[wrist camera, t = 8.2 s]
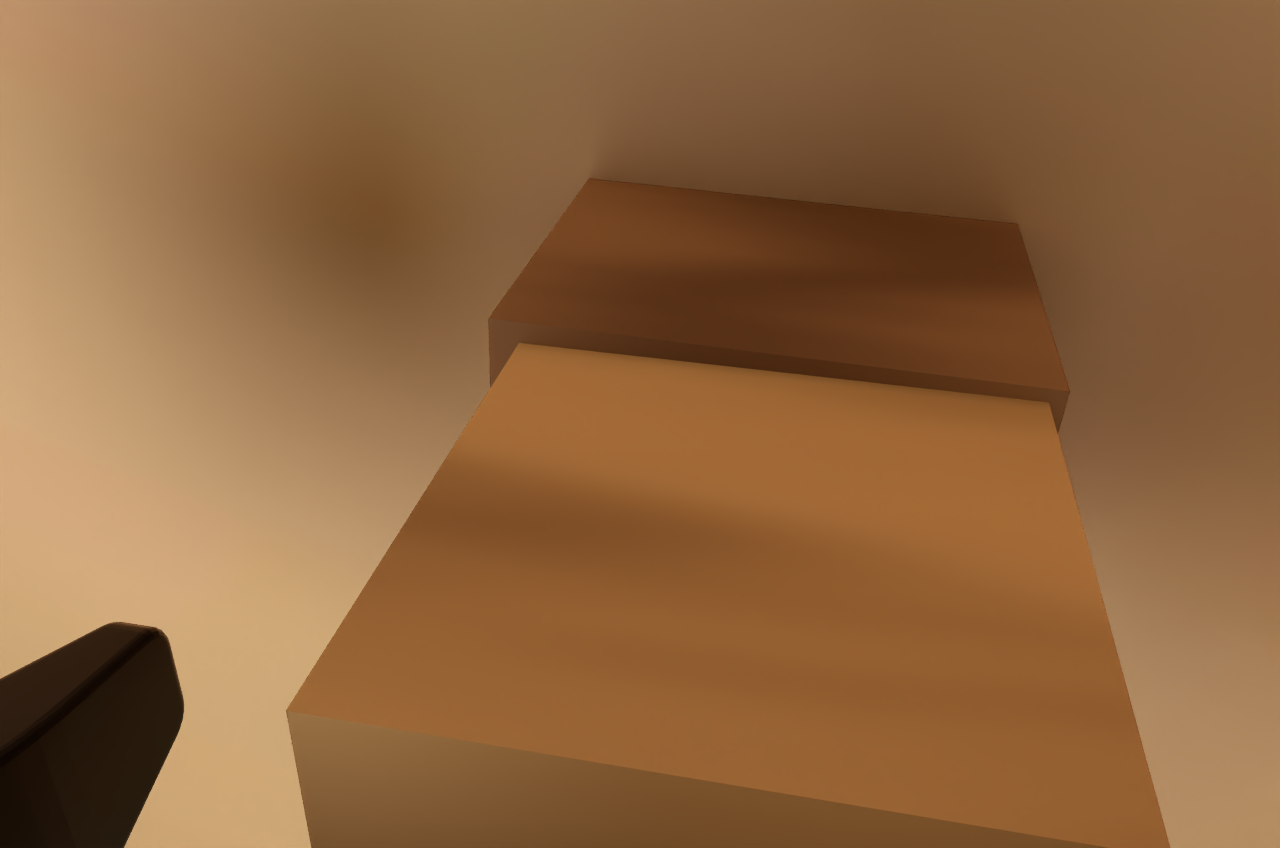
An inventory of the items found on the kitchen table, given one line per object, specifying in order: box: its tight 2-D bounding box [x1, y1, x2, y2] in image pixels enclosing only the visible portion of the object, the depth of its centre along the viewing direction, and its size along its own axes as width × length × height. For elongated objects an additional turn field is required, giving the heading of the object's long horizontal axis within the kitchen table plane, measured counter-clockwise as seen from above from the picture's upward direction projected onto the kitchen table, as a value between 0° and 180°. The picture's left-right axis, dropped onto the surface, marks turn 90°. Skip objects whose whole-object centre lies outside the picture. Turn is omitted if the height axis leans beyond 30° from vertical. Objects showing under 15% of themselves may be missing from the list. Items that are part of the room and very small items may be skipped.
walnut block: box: [489, 179, 1070, 434], centre depth 12 cm, size 5×5×4 cm
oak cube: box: [286, 343, 1170, 848], centre depth 8 cm, size 4×4×4 cm
